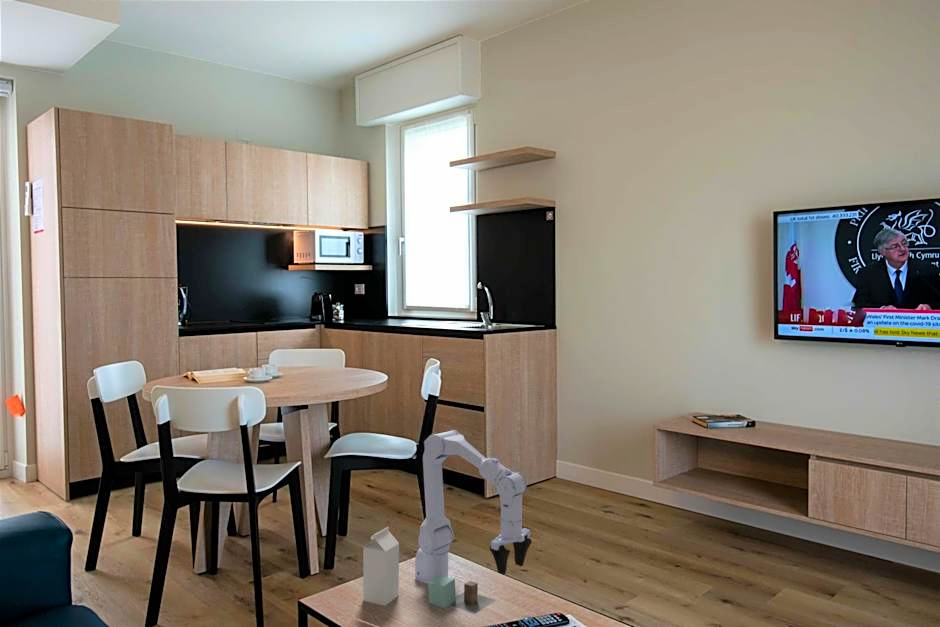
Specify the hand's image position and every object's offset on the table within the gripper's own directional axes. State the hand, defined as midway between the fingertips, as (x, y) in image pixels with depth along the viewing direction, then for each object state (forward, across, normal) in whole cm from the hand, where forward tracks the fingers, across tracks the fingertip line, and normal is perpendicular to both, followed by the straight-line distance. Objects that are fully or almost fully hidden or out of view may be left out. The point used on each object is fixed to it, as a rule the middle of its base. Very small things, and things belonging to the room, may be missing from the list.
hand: (510, 569), depth 183 cm
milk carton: (+10, -21, +28) cm, 37 cm away
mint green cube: (+10, -11, +14) cm, 21 cm away
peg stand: (+10, -6, +9) cm, 15 cm away
